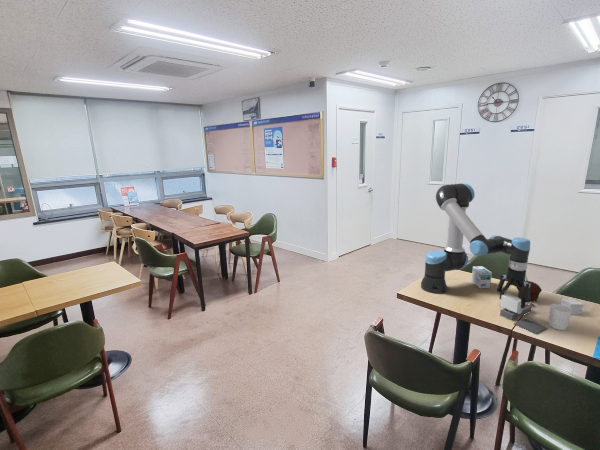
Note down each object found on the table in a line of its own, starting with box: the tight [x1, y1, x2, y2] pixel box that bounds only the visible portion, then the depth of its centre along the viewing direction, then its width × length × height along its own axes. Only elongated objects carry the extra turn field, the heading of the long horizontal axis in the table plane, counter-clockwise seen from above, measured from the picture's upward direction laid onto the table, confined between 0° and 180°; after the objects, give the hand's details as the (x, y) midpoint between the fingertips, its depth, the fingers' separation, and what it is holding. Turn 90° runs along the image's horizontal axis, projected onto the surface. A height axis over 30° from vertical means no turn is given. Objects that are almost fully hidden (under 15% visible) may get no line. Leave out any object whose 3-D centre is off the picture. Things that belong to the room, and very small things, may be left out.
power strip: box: [499, 303, 535, 321], centre depth 169 cm, size 6×26×4 cm, turn 118°
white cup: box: [548, 303, 572, 331], centre depth 154 cm, size 8×8×10 cm
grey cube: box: [560, 298, 584, 316], centre depth 167 cm, size 6×6×6 cm
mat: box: [513, 317, 548, 335], centre depth 155 cm, size 10×10×1 cm
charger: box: [499, 293, 521, 313], centre depth 164 cm, size 8×5×8 cm, turn 28°
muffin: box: [517, 280, 543, 303], centre depth 182 cm, size 12×11×10 cm
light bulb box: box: [470, 265, 493, 289], centre depth 201 cm, size 11×7×11 cm, turn 179°
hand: (510, 309), depth 165 cm, fingers closed on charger, 8 cm apart
